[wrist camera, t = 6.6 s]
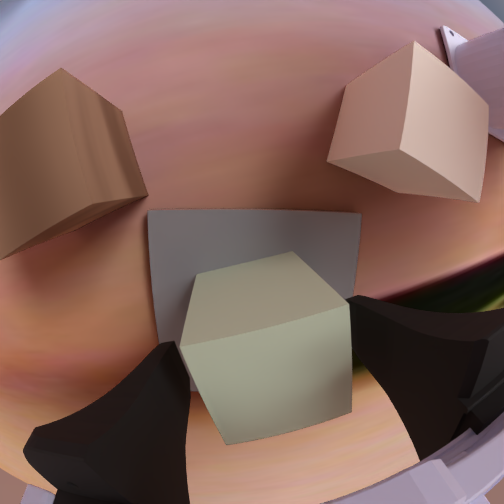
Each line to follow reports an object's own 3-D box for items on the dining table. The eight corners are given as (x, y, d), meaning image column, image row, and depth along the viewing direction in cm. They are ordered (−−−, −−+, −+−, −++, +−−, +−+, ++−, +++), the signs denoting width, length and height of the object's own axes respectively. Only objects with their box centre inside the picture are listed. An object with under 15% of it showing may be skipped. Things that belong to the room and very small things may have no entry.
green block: (292, 251, 13) (349, 304, 7) (306, 333, 14) (351, 412, 8) (196, 274, 12) (179, 347, 7) (221, 354, 13) (226, 445, 8)
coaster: (356, 212, 13) (361, 213, 13) (332, 375, 15) (335, 380, 15) (150, 209, 12) (147, 210, 11) (168, 383, 14) (167, 390, 14)
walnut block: (122, 111, 11) (61, 67, 5) (148, 195, 12) (92, 203, 6) (51, 152, 11) (-27, 142, 5) (74, 230, 12) (-1, 260, 6)
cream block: (411, 121, 12) (488, 105, 7) (396, 192, 13) (479, 203, 7) (345, 85, 12) (413, 40, 6) (326, 161, 12) (399, 149, 7)
